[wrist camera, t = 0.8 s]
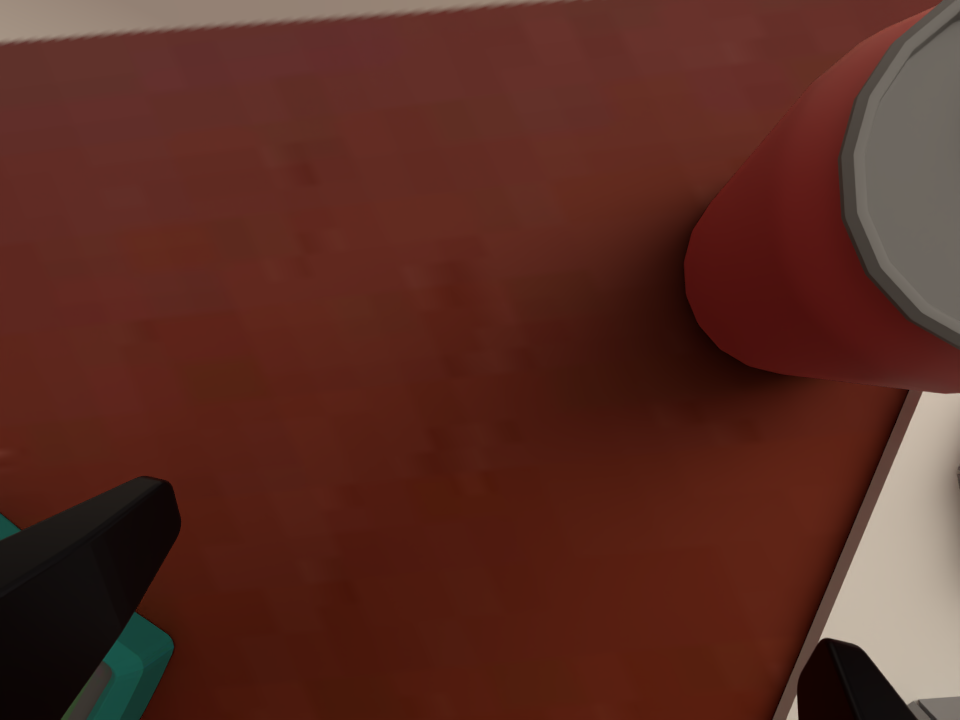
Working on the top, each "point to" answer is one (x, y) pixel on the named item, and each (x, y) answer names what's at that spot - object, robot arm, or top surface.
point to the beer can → (847, 223)
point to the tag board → (903, 566)
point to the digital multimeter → (120, 668)
